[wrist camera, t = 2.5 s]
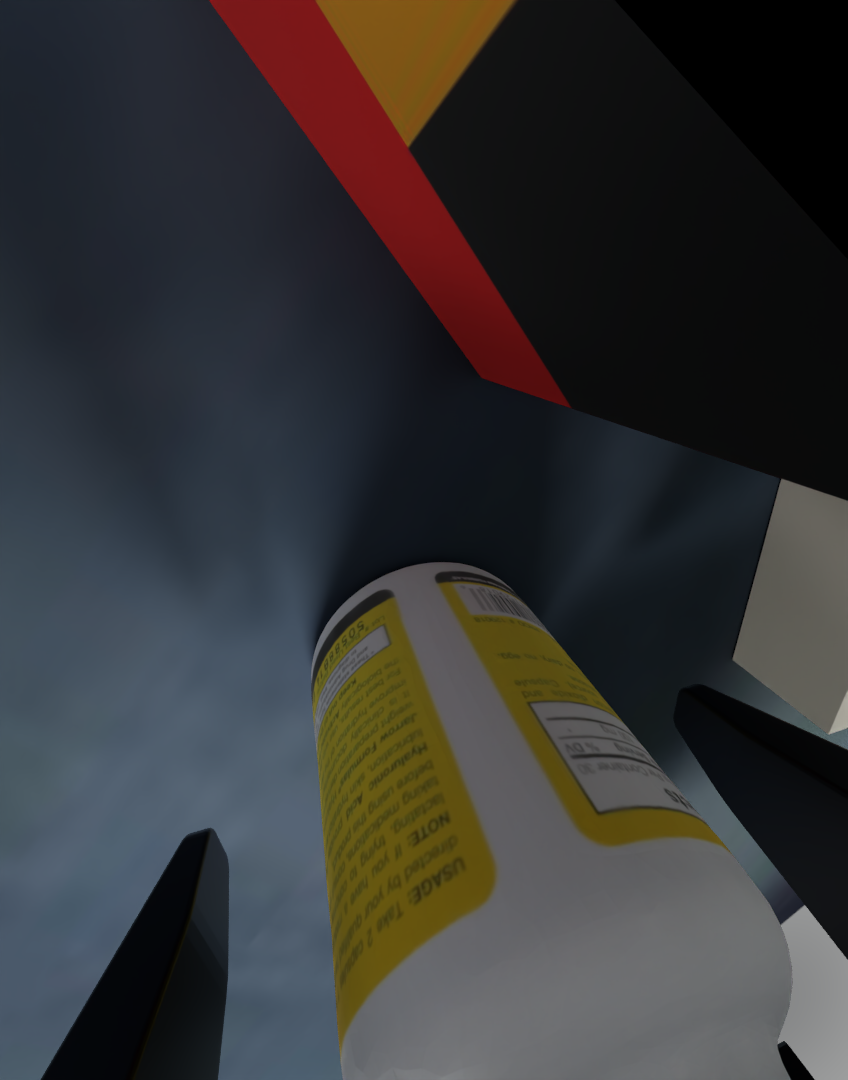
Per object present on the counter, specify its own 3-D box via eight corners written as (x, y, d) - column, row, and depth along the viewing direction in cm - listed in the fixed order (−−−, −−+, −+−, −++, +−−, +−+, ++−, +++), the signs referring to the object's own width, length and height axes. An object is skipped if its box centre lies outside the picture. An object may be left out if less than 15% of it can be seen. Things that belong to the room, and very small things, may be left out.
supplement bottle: (336, 760, 12) (451, 1786, 4) (282, 587, 10) (252, 2498, 1) (528, 701, 13) (971, 1415, 5) (523, 530, 11) (1454, 1387, 2)
